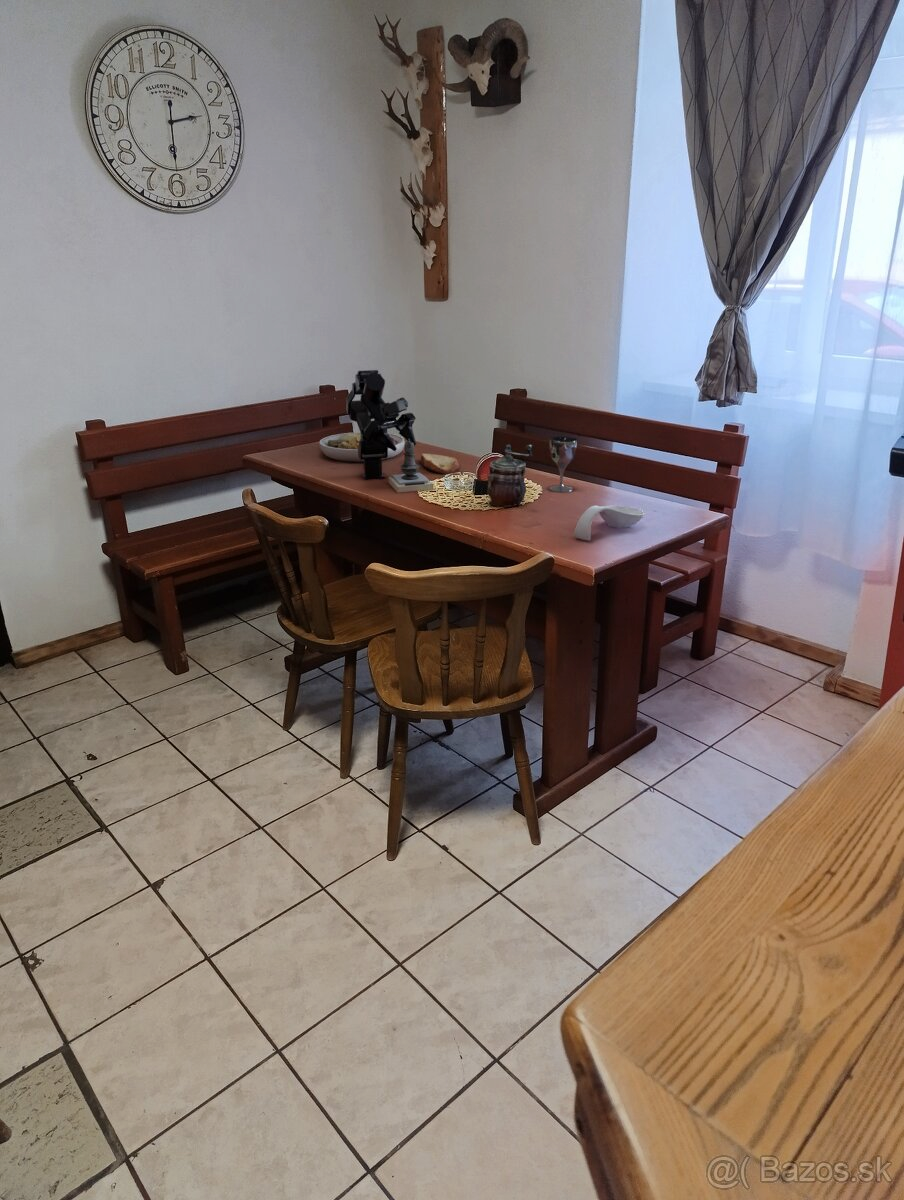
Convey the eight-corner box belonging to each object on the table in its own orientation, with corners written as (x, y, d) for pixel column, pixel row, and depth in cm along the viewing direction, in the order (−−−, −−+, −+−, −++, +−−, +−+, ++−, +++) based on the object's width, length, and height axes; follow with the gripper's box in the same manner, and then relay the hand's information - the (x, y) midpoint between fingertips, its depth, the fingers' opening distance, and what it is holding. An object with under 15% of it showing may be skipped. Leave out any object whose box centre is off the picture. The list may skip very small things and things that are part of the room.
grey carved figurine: (420, 475, 250) (420, 436, 246) (418, 480, 245) (417, 440, 240) (401, 475, 251) (400, 436, 246) (399, 480, 246) (397, 440, 241)
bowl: (302, 456, 286) (300, 434, 283) (358, 442, 309) (357, 421, 306) (367, 468, 271) (366, 444, 267) (421, 451, 293) (421, 429, 290)
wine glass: (577, 487, 247) (580, 437, 241) (569, 493, 240) (572, 442, 234) (552, 484, 250) (554, 435, 244) (544, 490, 243) (546, 440, 238)
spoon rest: (613, 515, 220) (615, 489, 217) (652, 523, 212) (654, 497, 210) (562, 535, 204) (563, 508, 201) (602, 546, 196) (604, 517, 194)
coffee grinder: (518, 514, 221) (520, 448, 214) (477, 504, 230) (477, 440, 224) (546, 504, 230) (548, 441, 223) (505, 495, 239) (507, 433, 232)
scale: (388, 482, 253) (388, 474, 252) (422, 480, 256) (422, 472, 255) (397, 492, 242) (397, 484, 241) (433, 489, 245) (433, 481, 244)
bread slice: (425, 458, 283) (425, 447, 282) (472, 463, 276) (472, 452, 274) (400, 469, 268) (399, 458, 267) (448, 475, 261) (448, 463, 260)
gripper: (369, 393, 235) (399, 435, 233) (410, 385, 249) (439, 425, 247) (350, 418, 243) (380, 459, 241) (391, 409, 256) (419, 448, 255)
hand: (405, 447), depth 246 cm, fingers open, 9 cm apart
